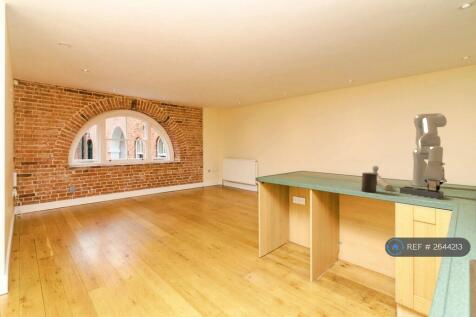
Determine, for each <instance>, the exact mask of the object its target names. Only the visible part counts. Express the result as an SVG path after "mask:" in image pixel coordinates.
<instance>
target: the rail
mask: <svg viewBox="0 0 476 317" xmlns="http://www.w3.org/2000/svg"><path fill="white" fill-rule="evenodd" d="M403 193H404V194H403ZM444 193H445V192H444V191H443V190H439V191H436V190H429V189H428V188H422V187H420V188H419V187H415V186H408V185H407V186H405V185H404V186H400V187H399V194H403V195H409V194H411V196H415V195H418V196H417V197H421V196H424V197H423V198H427V197H430V198H429V199H433V198H436V199H435V200H439V198H440V199H442V198H444Z"/></svg>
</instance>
